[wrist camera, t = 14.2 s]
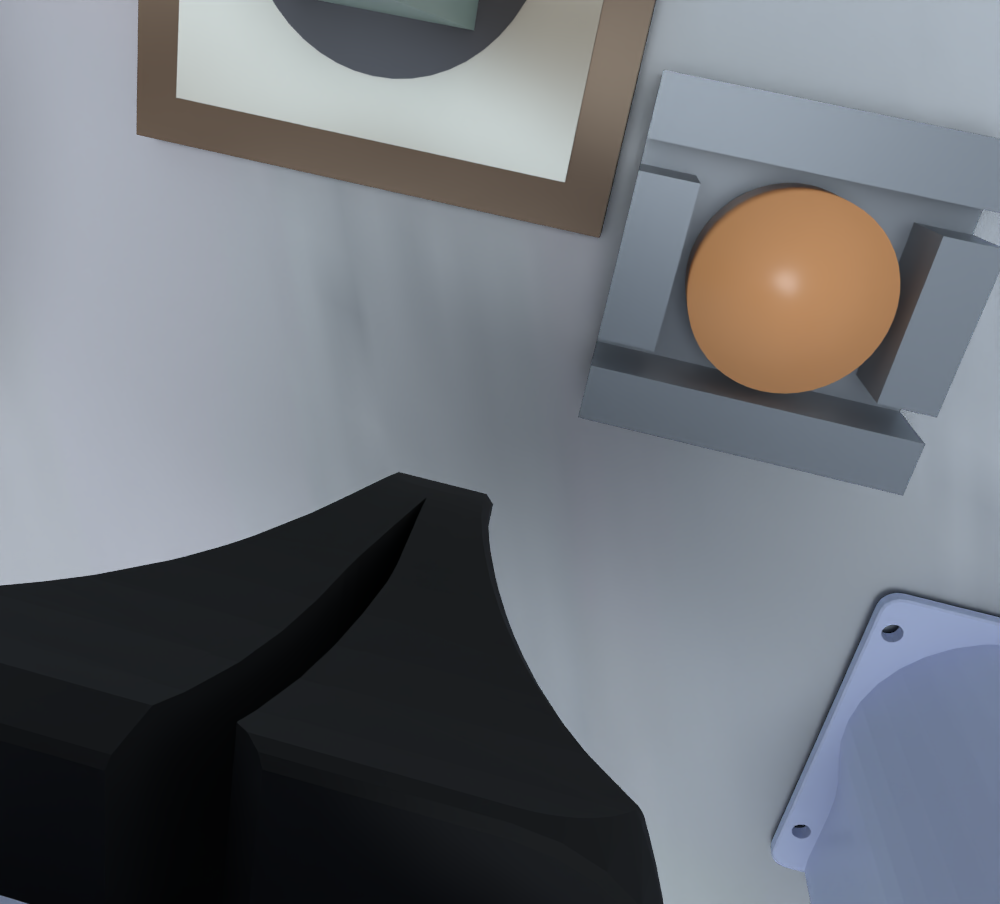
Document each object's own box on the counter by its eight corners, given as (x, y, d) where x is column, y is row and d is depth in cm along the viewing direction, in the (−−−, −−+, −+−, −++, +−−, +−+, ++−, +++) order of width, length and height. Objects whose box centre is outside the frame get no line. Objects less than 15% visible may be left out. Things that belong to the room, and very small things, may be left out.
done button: (839, 386, 19) (856, 413, 17) (663, 346, 19) (664, 368, 18) (907, 205, 17) (933, 216, 16) (714, 164, 18) (720, 171, 16)
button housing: (872, 446, 20) (902, 495, 18) (587, 379, 21) (577, 417, 18) (995, 142, 18) (1052, 149, 15) (662, 74, 18) (663, 69, 16)
